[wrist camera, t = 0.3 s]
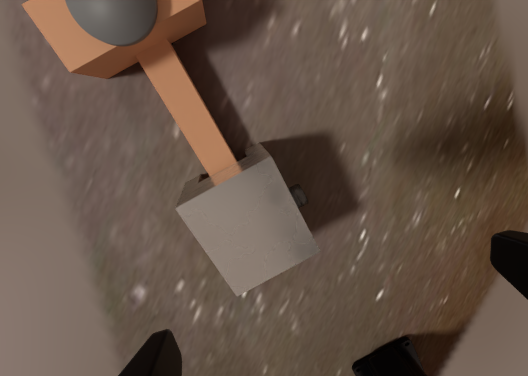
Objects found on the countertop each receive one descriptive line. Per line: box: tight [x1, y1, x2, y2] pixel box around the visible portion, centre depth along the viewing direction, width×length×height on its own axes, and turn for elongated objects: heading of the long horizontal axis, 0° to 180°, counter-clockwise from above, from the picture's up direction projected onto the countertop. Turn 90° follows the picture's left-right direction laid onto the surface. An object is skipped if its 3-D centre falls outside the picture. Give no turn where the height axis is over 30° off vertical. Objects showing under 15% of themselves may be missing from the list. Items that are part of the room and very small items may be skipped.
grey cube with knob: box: [175, 143, 320, 296], centre depth 19 cm, size 7×7×5 cm
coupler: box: [22, 0, 238, 176], centre depth 16 cm, size 13×7×5 cm, turn 27°
